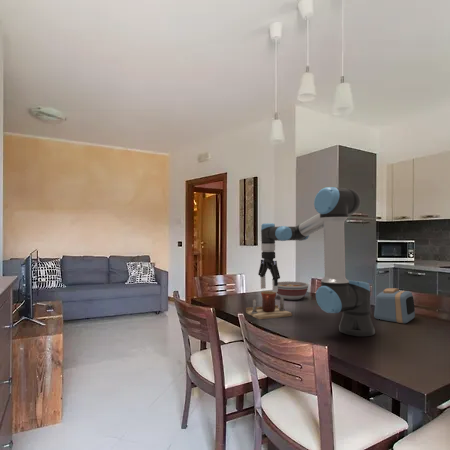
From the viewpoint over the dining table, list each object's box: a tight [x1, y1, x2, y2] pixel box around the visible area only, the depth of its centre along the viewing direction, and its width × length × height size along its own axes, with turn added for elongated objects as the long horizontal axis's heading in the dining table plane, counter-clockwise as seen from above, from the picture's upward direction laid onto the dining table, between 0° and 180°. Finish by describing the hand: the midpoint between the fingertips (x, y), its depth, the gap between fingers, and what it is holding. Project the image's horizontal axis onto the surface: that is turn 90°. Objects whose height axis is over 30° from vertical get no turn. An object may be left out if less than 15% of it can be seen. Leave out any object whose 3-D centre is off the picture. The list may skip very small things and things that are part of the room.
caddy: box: [245, 296, 293, 320], centre depth 190 cm, size 16×20×8 cm
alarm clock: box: [373, 287, 416, 324], centre depth 180 cm, size 16×16×16 cm
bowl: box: [276, 280, 309, 301], centre depth 235 cm, size 23×23×10 cm
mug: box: [260, 290, 277, 312], centre depth 190 cm, size 12×9×10 cm
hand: (268, 290), depth 190 cm, fingers open, 13 cm apart
